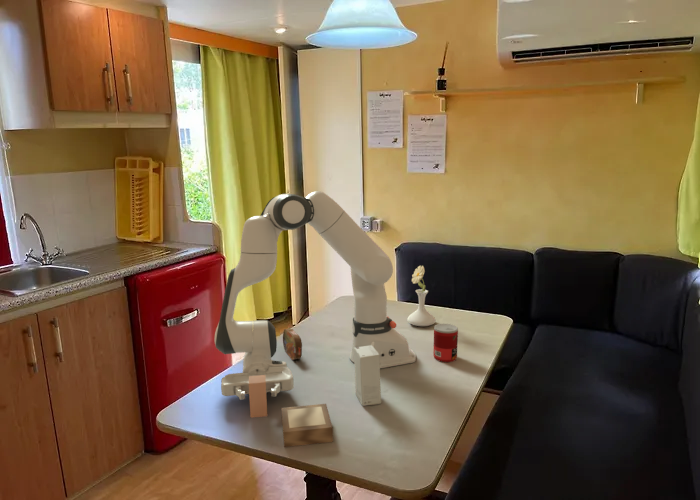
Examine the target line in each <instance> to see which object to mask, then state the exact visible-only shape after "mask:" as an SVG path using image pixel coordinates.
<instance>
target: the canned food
mask: <svg viewBox="0 0 700 500" xmlns="http://www.w3.org/2000/svg"><path fill="white" fill-rule="evenodd" d="M458 335H459V329H458V326H456V325H455V324H451V323H438V324H435V325H434V328H433V357H434V359H435V360H436V361H438V362H441V361H442V363H451V362H455V361H456V360H457V358H458V337H459V336H458Z"/></svg>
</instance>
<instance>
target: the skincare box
mask: <svg viewBox="0 0 700 500" xmlns="http://www.w3.org/2000/svg"><path fill="white" fill-rule="evenodd" d="M353 364H354V382H355V383H354V385H355V386H354V387H355V395H356V397H357V399H358V401H359V403H360V404H361V406H362V407H364V406H375V405H381V404H382V394H381V393H382V391H381V368H380V362H379V354H378V352H377V351H376V350H375V348H374V347H373V346H372V345H370V346H362V347H355V348H354V362H353Z"/></svg>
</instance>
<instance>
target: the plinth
mask: <svg viewBox="0 0 700 500" xmlns="http://www.w3.org/2000/svg"><path fill="white" fill-rule="evenodd" d="M280 409H281V410H280V411H281V425H282V437H283V447H284V448H288V447H289V448H290V447H295V446H296V447H298V446H305V445H315V444H325V443H332V442H333V441H334V435H333V434H334V433H333V431H334V430H333V424H332V421H331V417H330V414H329V410H328V405H327V403H321V404H320V403H319V404H317V403H316V404H310V405H309V404H308V405H307V404H306V405H299V406H289V407H280Z"/></svg>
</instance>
